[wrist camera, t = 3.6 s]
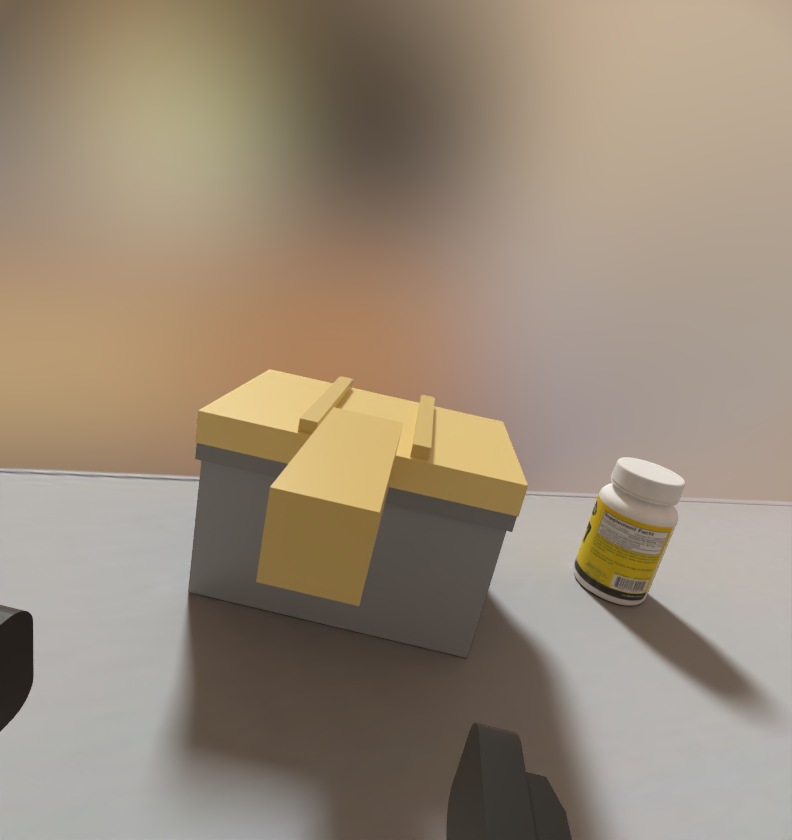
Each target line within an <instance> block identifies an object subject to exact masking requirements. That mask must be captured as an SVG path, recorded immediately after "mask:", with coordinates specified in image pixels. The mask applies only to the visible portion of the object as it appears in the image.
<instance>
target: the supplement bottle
mask: <svg viewBox="0 0 792 840" xmlns="http://www.w3.org/2000/svg"><path fill="white" fill-rule="evenodd" d="M611 482H612V484H608V485H606V486H604V487H603V488H602V489H601V491H600V493H599V495H598V498H597V501H596V504H595V507H594V509H593V512H592V515H591V518H590V521H589V524H588V526H587V530H586V532H585V535H584V538H583V540H582V543H581V546H580V549H579V552H578V555H577V558H576V560H575V564H574V568H573V571H574V575H575V577H576V578H577V580H578V581H579V582H580V583H581V584H582V585H583V586H584V587H585V588H586V589H587V590H589V591H590V592H592V593H594V594H595V595H597V596H599V597H601V598H603V599H605V600H607V601H610V602H613V603H616V604H620V605H627V606H633V605H638V604H640V603H642V602H643V601H644V600H645V599H646V597H647V594H648V592H649V589H650V587H651V585H652V582H653V580H654V577H655V575H656V572H657V570H658V567H659V565H660V562H661V560H662V557H663V555H664V553H665V550H666V548H667V545H668V543H669V541H670V538H671V536H672V534H673V531H674V529H675V526H676V524H677V521H678V513H677V510H676V509H675V507H674V506H673V505H676V504H677V503H678V501H679V500H680V497H681V494H682V491H683V489H684V486H685V481H684V480H683V478H681V477H680V476H679V475H677V474H676V473H674V472H672V471H670V470H669V469H666V468H664V467H662V466H659V465H657V464H654V463H651V462H648V461H645V460H641V459H636V458H628V457H624V458H620V459H618V461H617V463H616V466H615V468H614V470H613V472H612V474H611Z"/></svg>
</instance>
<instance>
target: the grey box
mask: <svg viewBox="0 0 792 840" xmlns="http://www.w3.org/2000/svg"><path fill="white" fill-rule="evenodd" d="M195 458H196V459H198V460H201V470H200V480H199V490H198V500H197V510H196V520H195V530H194V540H193V550H192V560H191V570H190V580H189V590H188V592H191V593H195V594H199V595H203V596H207V597H212V598H216V599H220V600H224V601H228V602H233V603H237V604H241V605H245V606H249V607H254V608H258V609H262V610H266V611H271V612H275V613H279V614H283V615H287V616H292V617H296V618H300V619H304V620H308V621H313V622H317V623H321V624H325V625H329V626H334V627H338V628H342V629H346V630H351V631H355V632H359V633H363V634H367V635H372V636H376V637H380V638H384V639H388V640H393V641H397V642H401V643H405V644H410V645H414V646H418V647H422V648H426V649H431V650H435V651H439V652H443V653H447V654H452V655H456V656H460V657H464V658H467V657H468V654H469V651H470V648H471V644H472V641H473V638H474V635H475V631H476V628H477V625H478V621H479V618H480V615H481V612H482V608H483V605H484V602H485V599H486V595H487V592H488V589H489V586H490V582H491V579H492V576H493V573H494V569H495V566H496V563H497V560H498V556H499V553H500V550H501V547H502V543H503V540H504V537H505V534H506V531H510V532H512V530H513V527H514V524H515V521H516V518H517V516H513V515H509V514H504V513H500V512H496V511H491V510H487V509H483V508H478V507H474V506H470V505H465V504H461V503H456V502H452V501H448V500H443V499H439V498H435V497H430V496H426V495H422V494H417V493H413V492H409V491H404V490H400V489H396V488H391V487H389V489H388V493H387V497H386V501H385V505H384V509H383V513H382V517H381V521H380V525H379V529H378V533H377V537H376V541H375V545H374V549H373V553H372V557H371V561H370V565H369V569H368V573H367V577H366V581H365V585H364V589H363V593H362V597H361V601H360V605H359V606H356V605H352V604H348V603H343V602H339V601H335V600H331V599H327V598H322V597H318V596H314V595H310V594H305V593H301V592H297V591H293V590H288V589H284V588H280V587H276V586H271V585H267V584H263V583H259V582H256V579H257V572H258V566H259V559H260V552H261V545H262V538H263V531H264V524H265V518H266V511H267V504H268V497H269V490H270V486H271V485H272V484H273V483H274V481H275V480H276V479H277V478H278V476H279V475H280V474H281V473H282V471H283V470H284V469H285V468H286V466H287V465H288V464H287V463H282V462H278V461H274V460H269V459H265V458H261V457H256V456H252V455H248V454H243V453H239V452H234V451H230V450H226V449H221V448H217V447H213V446H208V445H204V444H200V443H197V447H196V457H195Z"/></svg>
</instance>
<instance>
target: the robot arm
mask: <svg viewBox="0 0 792 840" xmlns="http://www.w3.org/2000/svg"><path fill="white" fill-rule="evenodd" d="M32 683H33V618H32V615H31V614H30V613H29V612H27V611H23V610H19V609H15V608H11V607H7V606H2V605H0V731H1V730H2V729H3V728H4V727H5V726H6V725H7V724H8V723H9V722H10V721H11V720H12V719H13V718H14V717H15V715H16V714H17V713H18V712H19V710H20V709H21V707H22V706H23V704H24V702H25V701H26V699H27V697H28V695H29V692H30V690H31V687H32ZM447 840H572V839H571V835H570V830H569V826H568V821H567V817H566V812H565V810H564V809H563V807H562V805H561V803H560V801H559V800H558V798H557V796H556V794H555V792H554V791H553V789H552V787H551V785H550V783H549V782H548V780H547V778H546V777H543V776H539V775H535V774H531V773H527V772H525V766H524V760H523V754H522V747H521V742H520V738H519V736H518V734H517V733H514V732H510V731H506V730H502V729H498V728H494V727H490V726H486V725H482V724H477V723H474V724H473V725H472V727H471V730H470V732H469V735H468V738H467V741H466V744H465V748H464V751H463V754H462V757H461V760H460V763H459V766H458V769H457V772H456V775H455V778H454V781H453V784H452V788H451V792H450V798H449V805H448V813H447Z"/></svg>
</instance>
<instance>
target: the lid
mask: <svg viewBox="0 0 792 840" xmlns="http://www.w3.org/2000/svg"><path fill="white" fill-rule="evenodd" d="M352 381H353V379H350V378H345V377H341V376H340V377H339V378H338V379H337V380H336V381H335V382H334V383H328V382H324V381H319V380H315V379H310V378H306V377H301V376H297V375H293V374H288V373H284V372H279V371H275V370H271V369H269V370H268V371H266V372H264V373H263V374H261V375H259V376H257V377H256V378H254V379H252V380H250V381H249V382H247V383H245V384H244V385H242V386H240V387H238V388H237V389H235V390H233V391H231V392H230V393H228V394H226V395H224V396H223V397H221V398H219V399H217V400H216V401H214V402H212V403H211V404H209V405H207V406H205V407H204V408H202V409H200V410H198V420H197V430H196V440H195V442H196V443H200V444H204V445H208V446H213V447H217V448H221V449H226V450H230V451H234V452H239V453H243V454H248V455H252V456H256V457H261V458H265V459H269V460H274V461H278V462H282V463H287V464H288V465H287V466H286V468H285V469H284V470H283V471H282V473H281V474H280V475H279V476H278V478H277V479H276V480H275V481H274V483H273V484H272V485H271V486H270V490H269V497H268V504H267V511H266V518H265V524H264V531H263V538H262V545H261V552H260V559H259V566H258V572H257V579H256V582H259V583H263V584H267V585H271V586H276V587H280V588H284V589H288V590H293V591H297V592H301V593H305V594H310V595H314V596H318V597H322V598H327V599H331V600H335V601H339V602H343V603H348V604H352V605H356V606H359V605H360V601H361V597H362V593H363V589H364V585H365V581H366V577H367V573H368V569H369V565H370V561H371V557H372V553H373V549H374V545H375V541H376V537H377V533H378V529H379V525H380V521H381V517H382V513H383V509H384V505H385V501H386V497H387V493H388V489H389V487H391V488H396V489H400V490H404V491H409V492H413V493H417V494H422V495H426V496H430V497H435V498H439V499H443V500H448V501H452V502H456V503H461V504H465V505H470V506H474V507H478V508H483V509H487V510H491V511H496V512H500V513H504V514H509V515H513V516H517V517H518V516H519V513H520V510H521V506H522V503H523V500H524V497H525V494H526V490H527V487H528V485H527V482H526V479H525V477H524V474H523V472H522V469H521V467H520V464H519V461H518V459H517V457H516V454H515V451H514V449H513V446H512V444H511V441H510V439H509V436H508V433H507V431H506V428H505V426H504V423H503V422H502V421H497V420H493V419H488V418H484V417H479V416H475V415H470V414H466V413H461V412H457V411H453V410H448V409H444V408H439V407H435V406H434V399H435V398H434V397H430V396H425V395H421V399H420V403H417V402H412V401H408V400H404V399H399V398H395V397H390V396H386V395H382V394H377V393H373V392H368V391H364V390H359V389H355V388H352Z"/></svg>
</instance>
